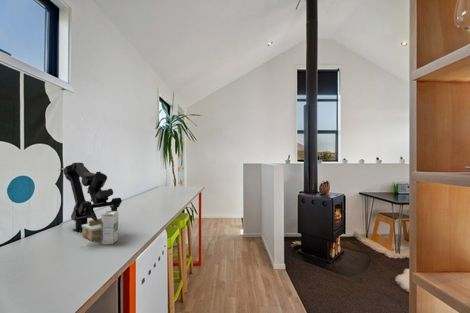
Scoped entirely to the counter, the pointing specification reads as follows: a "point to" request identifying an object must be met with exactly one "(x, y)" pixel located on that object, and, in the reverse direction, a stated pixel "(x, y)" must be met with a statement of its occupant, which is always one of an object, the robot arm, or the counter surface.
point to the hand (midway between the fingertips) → (107, 218)
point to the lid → (93, 225)
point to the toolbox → (91, 234)
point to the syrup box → (109, 227)
